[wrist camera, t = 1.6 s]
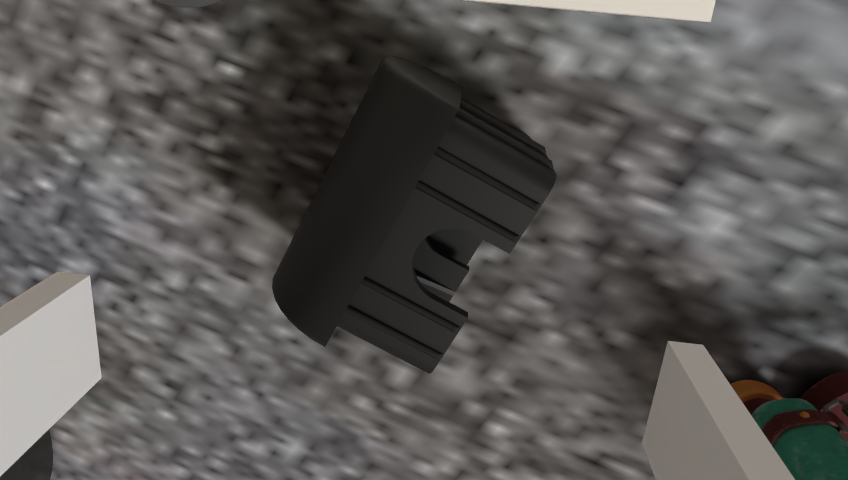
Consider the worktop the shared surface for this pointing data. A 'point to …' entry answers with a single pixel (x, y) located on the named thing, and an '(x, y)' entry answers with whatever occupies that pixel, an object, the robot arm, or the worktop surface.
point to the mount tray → (626, 7)
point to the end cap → (408, 215)
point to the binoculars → (804, 425)
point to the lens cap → (188, 3)
